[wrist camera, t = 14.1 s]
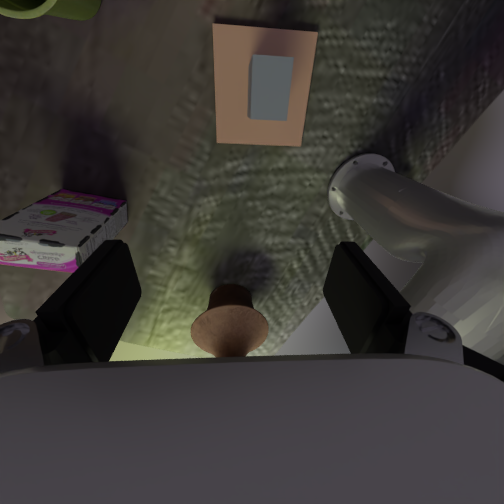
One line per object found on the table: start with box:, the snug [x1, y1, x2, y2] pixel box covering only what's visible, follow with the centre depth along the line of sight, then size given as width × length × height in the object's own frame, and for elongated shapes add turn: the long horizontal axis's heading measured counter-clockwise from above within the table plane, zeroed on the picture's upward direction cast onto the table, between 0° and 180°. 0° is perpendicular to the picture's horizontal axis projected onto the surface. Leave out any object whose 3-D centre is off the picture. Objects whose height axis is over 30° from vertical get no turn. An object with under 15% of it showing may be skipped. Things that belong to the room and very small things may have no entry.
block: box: [247, 54, 294, 121], centre depth 29 cm, size 4×6×9 cm
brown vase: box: [191, 284, 268, 357], centre depth 46 cm, size 18×17×28 cm
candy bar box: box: [0, 189, 128, 273], centre depth 35 cm, size 11×5×16 cm, turn 77°
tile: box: [213, 23, 318, 146], centre depth 34 cm, size 14×14×1 cm
